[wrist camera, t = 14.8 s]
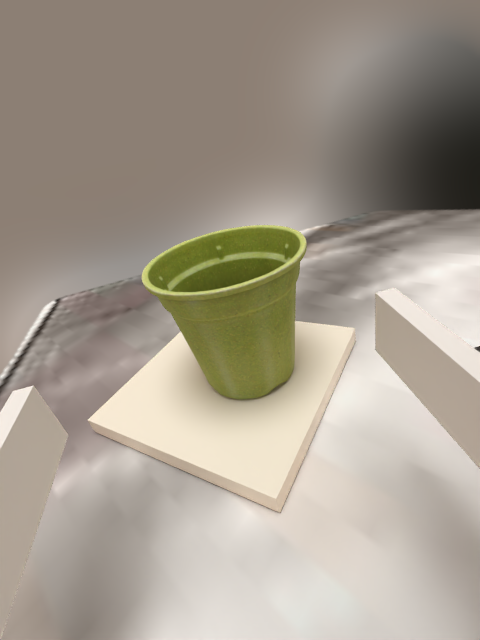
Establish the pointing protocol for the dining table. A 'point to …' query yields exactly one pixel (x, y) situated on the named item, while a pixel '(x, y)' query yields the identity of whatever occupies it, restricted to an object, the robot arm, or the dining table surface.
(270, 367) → the plant pot
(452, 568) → the dining table surface
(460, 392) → the robot arm
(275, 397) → the tile
